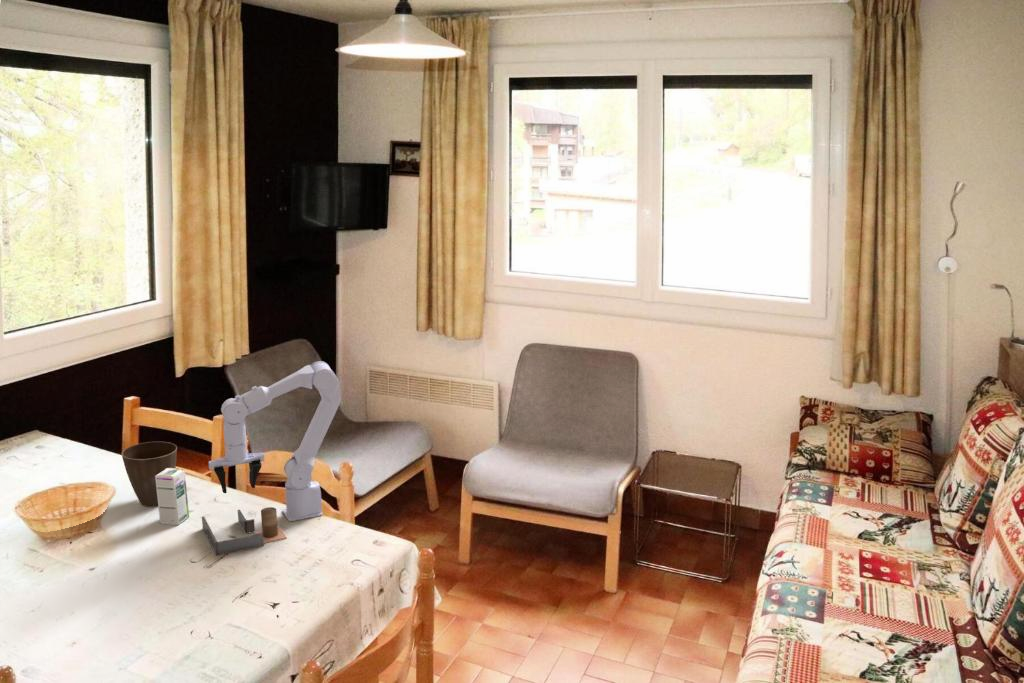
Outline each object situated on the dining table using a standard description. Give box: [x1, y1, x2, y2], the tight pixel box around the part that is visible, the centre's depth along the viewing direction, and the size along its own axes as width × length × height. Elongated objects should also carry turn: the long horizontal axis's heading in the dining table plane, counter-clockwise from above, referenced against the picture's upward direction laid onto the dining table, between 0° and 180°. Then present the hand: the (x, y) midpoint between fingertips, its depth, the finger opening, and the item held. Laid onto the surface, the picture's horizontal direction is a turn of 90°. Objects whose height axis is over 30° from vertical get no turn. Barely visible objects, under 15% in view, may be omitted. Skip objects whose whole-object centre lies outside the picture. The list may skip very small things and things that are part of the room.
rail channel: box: [201, 509, 265, 557], centre depth 251 cm, size 12×18×4 cm
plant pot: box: [121, 441, 178, 508], centre depth 272 cm, size 15×15×16 cm
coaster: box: [253, 526, 288, 544], centre depth 252 cm, size 7×7×1 cm
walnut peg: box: [260, 506, 278, 538], centre depth 252 cm, size 4×4×7 cm
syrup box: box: [155, 468, 190, 526], centre depth 260 cm, size 6×6×14 cm
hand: (238, 489), depth 258 cm, fingers open, 7 cm apart
